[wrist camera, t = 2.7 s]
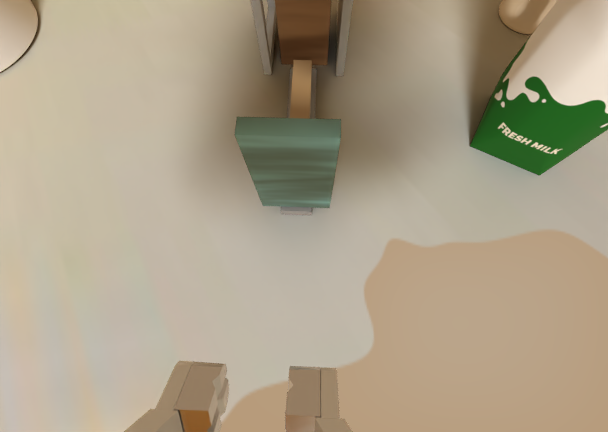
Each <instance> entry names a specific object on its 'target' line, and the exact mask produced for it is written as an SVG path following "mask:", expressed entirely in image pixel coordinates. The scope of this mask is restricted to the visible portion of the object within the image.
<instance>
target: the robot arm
mask: <svg viewBox="0 0 608 432" xmlns="http://www.w3.org/2000/svg"><path fill="white" fill-rule="evenodd" d="M37 26H38V16H37V12H36V9H35V7H34V5H33V4H32V2H31V0H0V72H1V71H3V70H4V69H6V68H7V67H9V66H10V65H11V64H13V63H14V62H15V61H16V60H17V59H18V58H19V57H20V56H21V55H22V54H23V53H24V52H25V51H26V50H27V48H28V47H29V46H30V44H31V42H32V40H33V38H34V36H35V34H36V31H37ZM226 373H227V368H226V364H219V363H205V362H191V361H179V362H178V363H177V364H176V365H175V367H174V369H173V372H172V374H171V376H170V378H169V380H168V382H167V385H166V387H165V389H164V391H163V393H162V395H161V398H160V400H159V402H158V404H157V406H156V409H150V410H149V411H148V412H147V413H145V414H144V415H143V416H142V417H141V418H139V419H138V420H137V421H136V422H135V423H134V424H132V425H131V426H130V427H129V428H128V429H127V430H125V431H124V432H220V429H221V420H220V416H221V415H222V414H223V413H224V412H225V410H226V406H227V401H228V394H229V383H228V380H227V379H226V378H225V376H226ZM285 429H286V432H353V431H352V430H351V428H350V427H349V425H348V424H347V422H346V421H345V419H340V418H339V401H338V383H337V370H336V368H320V367H301V366H290V369H289V391H288V392H287V401H286V413H285Z"/></svg>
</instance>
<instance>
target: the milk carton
mask: <svg viewBox="0 0 608 432" xmlns="http://www.w3.org/2000/svg"><path fill="white" fill-rule="evenodd" d="M606 130H608V0H558V1H557V2H556V3H555V5H554V6H553V7H552V9H551V10H550V11H549V12H548V14H547V15H546V16H545V18H544V19H543V20H542V22H541V23H540V24H539V26H538V27H537V28H536V30H535V31H534V32H533V34H532V35H531V36H530V37H529V39H528V40H527V41H526V43H525V44H524V45H523V47H522V48H521V49H520V51H519V52H518V53H517V55H516V56H515V57H514V59H513V60H512V61H511V63H510V64H509V66H508V67H507V68H506V70H505V71H504V73H503V74H502V76H501V78H500V80H499V82H498V84H497V86H496V88H495V90H494V92H493V93H492V96H491V98H490V100H489V103H488V105H487V107H486V110H485V112H484V114H483V117H482V119H481V121H480V124H479V126H478V128H477V131H476V133H475V135H474V138H473V140H472V142H471V144H470V146H471V147H473V148H476V149H478V150H480V151H483V152H485V153H487V154H490V155H492V156H495V157H497V158H499V159H502V160H504V161H506V162H509V163H511V164H513V165H516V166H518V167H520V168H523V169H525V170H528V171H530V172H532V173H535V174H537V175H541V174H542V173H544V172H545V171H547V170H548V169H550V168H551V167H553V166H554V165H556V164H557V163H559V162H560V161H562V160H563V159H565V158H566V157H568V156H569V155H571V154H572V153H574V152H575V151H577V150H578V149H579V148H581V147H582V146H584V145H585V144H587V143H588V142H590V141H591V140H593V139H594V138H596V137H597V136H599V135H600V134H602V133H603V132H605V131H606Z"/></svg>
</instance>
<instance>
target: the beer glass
mask: <svg viewBox="0 0 608 432" xmlns="http://www.w3.org/2000/svg"><path fill="white" fill-rule="evenodd" d="M557 1H558V0H502V2H501V3H500V6H499V16H500V18H501V20H502V22H503V23H504V24H505V25H506V26H507V27H509V28H510V29H512V30H514V31H516V32H519V33H522V34H533V32H534V31H535V30H536V28H537V27H538V26H539V24H540V23H541V22H542V20H543V19H544V18H545V16H546V15H547V14H548V12H549V11H550V10H551V9H552V7H553V6H554V5H555V3H556V2H557Z"/></svg>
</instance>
